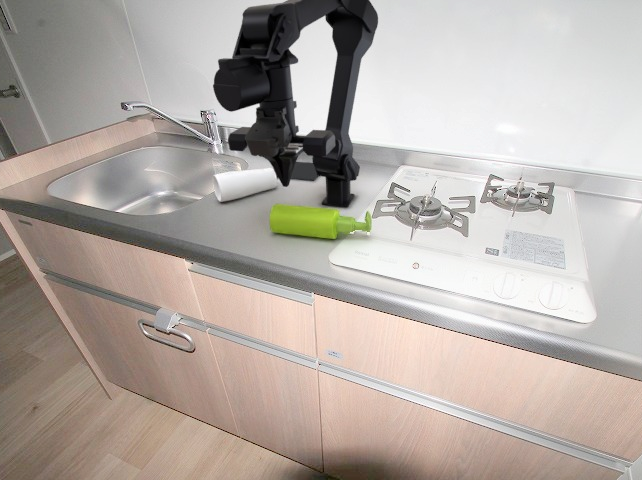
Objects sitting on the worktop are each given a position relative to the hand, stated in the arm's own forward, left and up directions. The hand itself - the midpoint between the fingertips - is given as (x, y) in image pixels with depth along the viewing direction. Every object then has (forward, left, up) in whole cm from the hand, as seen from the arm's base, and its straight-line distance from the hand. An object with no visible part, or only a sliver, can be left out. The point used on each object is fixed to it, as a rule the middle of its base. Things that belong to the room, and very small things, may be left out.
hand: (286, 186), depth 69 cm
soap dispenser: (0, +4, -7) cm, 8 cm away
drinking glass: (+21, +14, -8) cm, 26 cm away
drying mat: (+33, +12, -10) cm, 37 cm away
